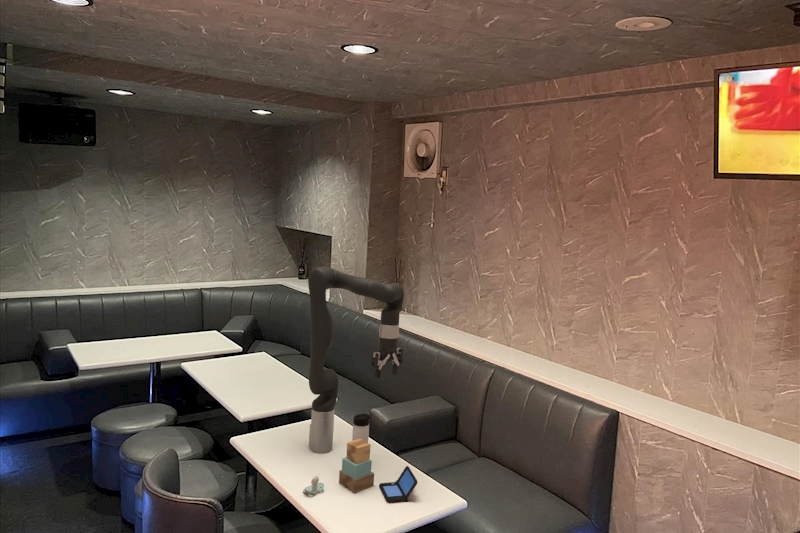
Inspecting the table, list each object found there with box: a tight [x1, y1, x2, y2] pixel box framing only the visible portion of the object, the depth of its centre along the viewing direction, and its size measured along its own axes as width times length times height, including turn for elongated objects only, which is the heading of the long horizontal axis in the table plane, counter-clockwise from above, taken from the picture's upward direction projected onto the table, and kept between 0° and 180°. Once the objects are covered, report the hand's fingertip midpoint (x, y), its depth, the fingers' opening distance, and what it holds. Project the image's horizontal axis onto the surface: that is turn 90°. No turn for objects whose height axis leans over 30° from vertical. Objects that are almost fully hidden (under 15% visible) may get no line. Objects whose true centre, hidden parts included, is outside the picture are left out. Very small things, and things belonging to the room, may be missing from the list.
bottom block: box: [338, 469, 375, 494], centre depth 204 cm, size 9×9×5 cm
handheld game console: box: [378, 465, 418, 504], centre depth 200 cm, size 12×11×7 cm
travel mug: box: [351, 413, 372, 443], centre depth 219 cm, size 6×7×20 cm
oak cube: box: [345, 438, 372, 464], centre depth 203 cm, size 6×6×6 cm
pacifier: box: [302, 475, 325, 496], centre depth 197 cm, size 7×6×6 cm
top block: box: [341, 456, 373, 479], centre depth 203 cm, size 8×8×5 cm
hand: (386, 376), depth 216 cm, fingers open, 8 cm apart
